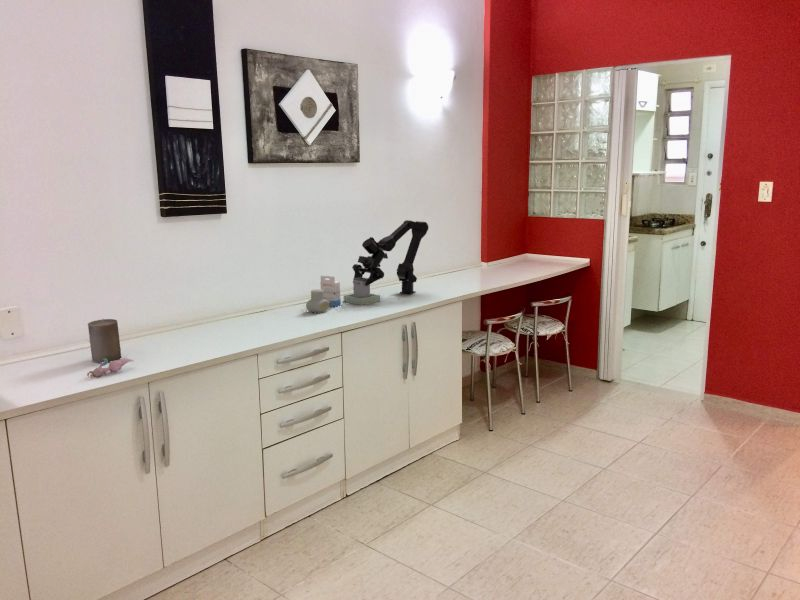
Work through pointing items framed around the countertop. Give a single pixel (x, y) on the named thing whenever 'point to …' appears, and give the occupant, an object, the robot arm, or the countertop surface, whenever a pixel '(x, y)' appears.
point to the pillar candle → (104, 340)
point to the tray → (361, 299)
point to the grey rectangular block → (361, 287)
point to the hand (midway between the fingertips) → (359, 284)
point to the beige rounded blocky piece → (317, 302)
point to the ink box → (331, 290)
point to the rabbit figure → (112, 367)
